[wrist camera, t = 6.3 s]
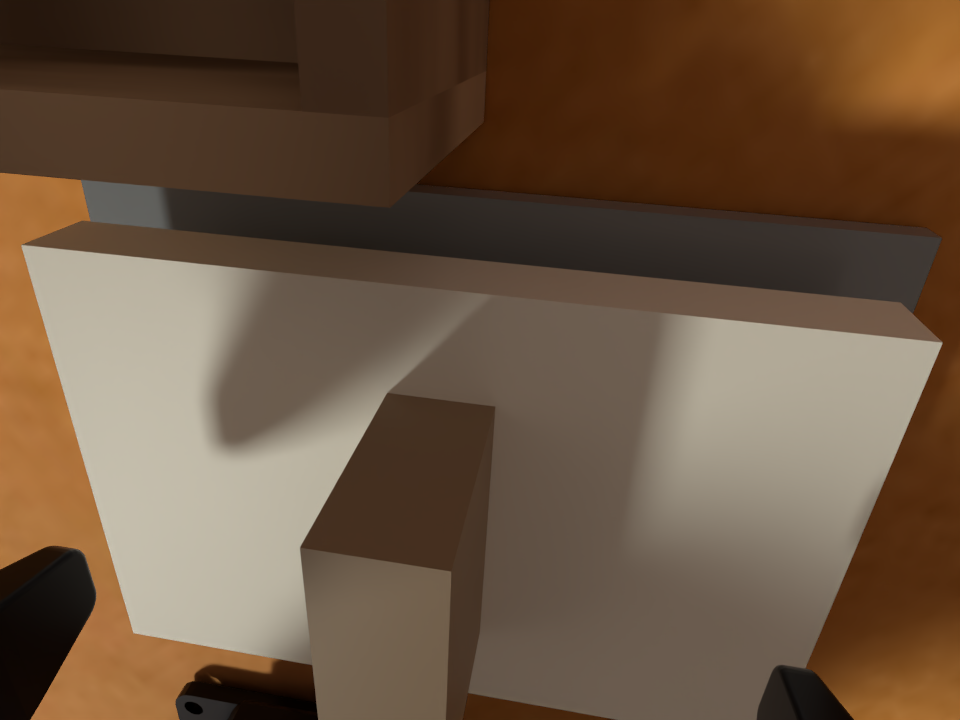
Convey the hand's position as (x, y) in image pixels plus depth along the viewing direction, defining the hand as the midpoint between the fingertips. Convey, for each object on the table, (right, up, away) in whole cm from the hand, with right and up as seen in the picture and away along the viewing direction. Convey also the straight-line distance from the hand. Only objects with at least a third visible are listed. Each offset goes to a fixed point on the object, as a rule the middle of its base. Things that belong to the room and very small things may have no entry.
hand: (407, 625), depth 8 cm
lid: (0, +1, +3) cm, 3 cm away
